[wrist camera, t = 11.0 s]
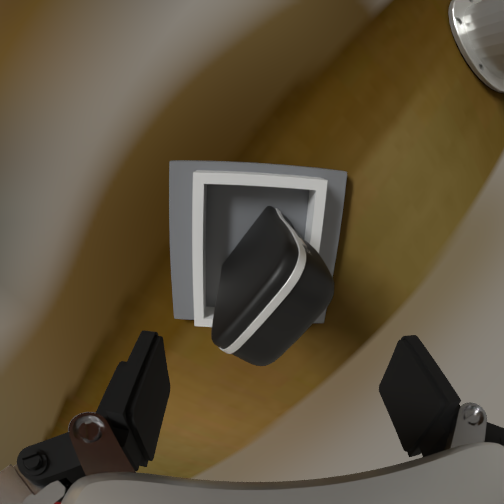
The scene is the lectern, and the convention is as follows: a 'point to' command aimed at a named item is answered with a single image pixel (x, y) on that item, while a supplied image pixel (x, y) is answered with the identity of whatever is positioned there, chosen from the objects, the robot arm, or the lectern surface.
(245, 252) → the battery charger
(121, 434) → the robot arm
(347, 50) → the lectern surface
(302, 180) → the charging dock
